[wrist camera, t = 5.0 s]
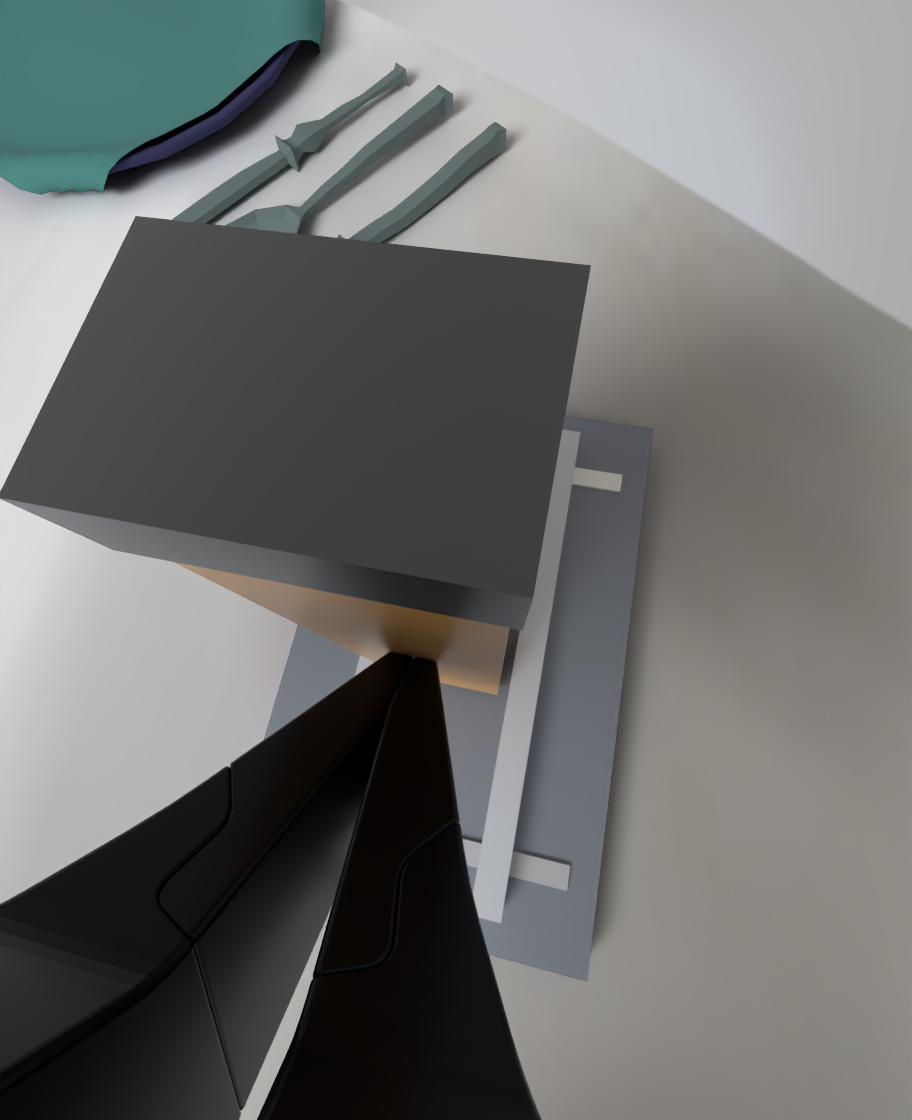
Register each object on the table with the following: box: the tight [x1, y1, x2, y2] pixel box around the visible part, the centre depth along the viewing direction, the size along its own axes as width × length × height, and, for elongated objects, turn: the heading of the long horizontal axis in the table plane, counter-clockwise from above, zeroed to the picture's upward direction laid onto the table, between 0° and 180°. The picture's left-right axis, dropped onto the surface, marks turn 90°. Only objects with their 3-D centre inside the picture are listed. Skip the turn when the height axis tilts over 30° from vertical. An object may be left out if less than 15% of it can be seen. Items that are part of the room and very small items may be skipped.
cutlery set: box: [0, 0, 506, 243], centre depth 25 cm, size 20×30×2 cm, turn 44°
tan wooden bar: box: [0, 216, 591, 695], centre depth 9 cm, size 2×3×13 cm
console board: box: [264, 417, 653, 982], centre depth 16 cm, size 16×10×2 cm, turn 168°
